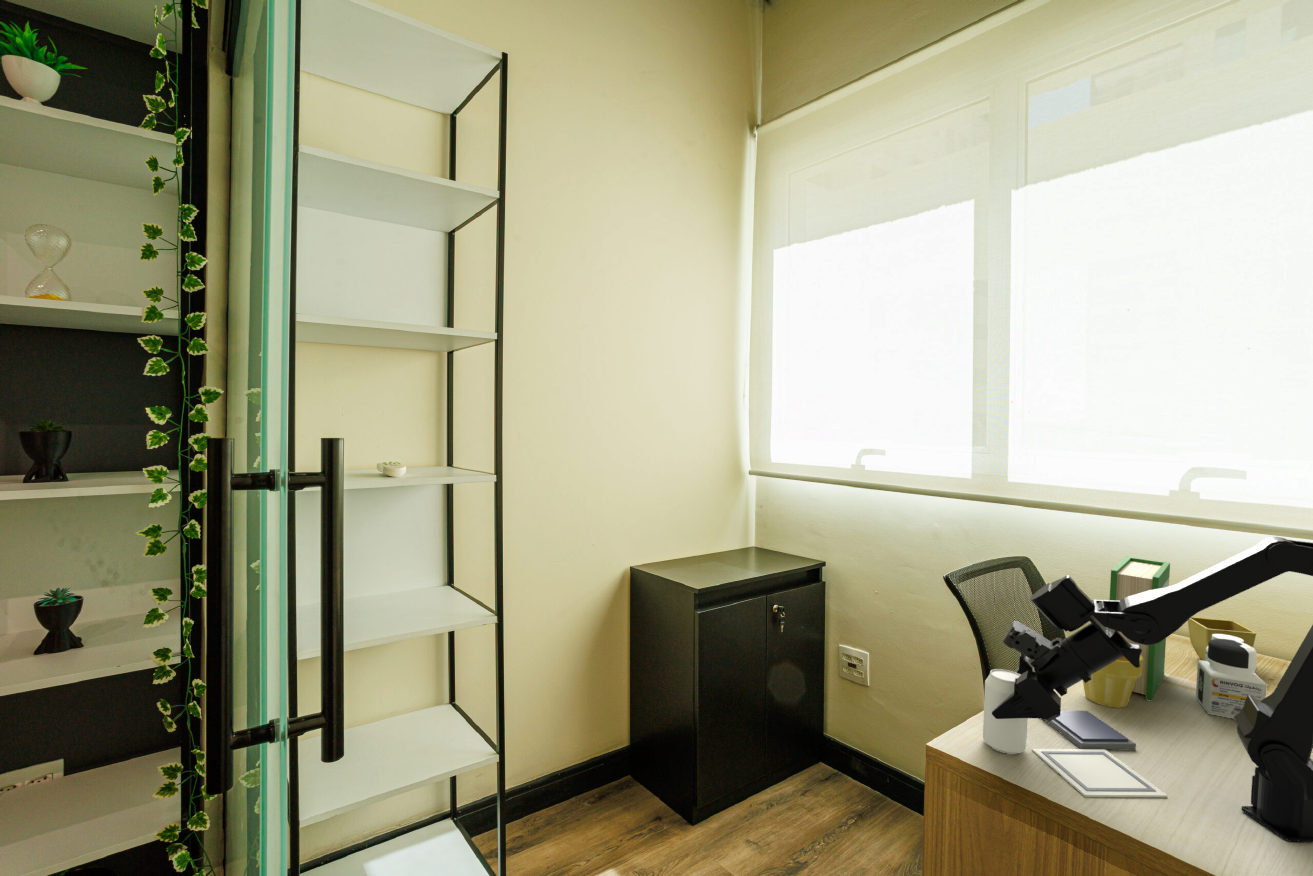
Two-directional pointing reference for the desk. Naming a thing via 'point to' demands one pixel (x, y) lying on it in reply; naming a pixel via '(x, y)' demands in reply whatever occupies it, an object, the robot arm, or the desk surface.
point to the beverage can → (1002, 731)
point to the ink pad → (1089, 731)
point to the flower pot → (1215, 632)
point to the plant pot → (1113, 683)
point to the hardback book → (1133, 580)
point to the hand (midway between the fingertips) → (996, 704)
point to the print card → (1098, 773)
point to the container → (1228, 678)
